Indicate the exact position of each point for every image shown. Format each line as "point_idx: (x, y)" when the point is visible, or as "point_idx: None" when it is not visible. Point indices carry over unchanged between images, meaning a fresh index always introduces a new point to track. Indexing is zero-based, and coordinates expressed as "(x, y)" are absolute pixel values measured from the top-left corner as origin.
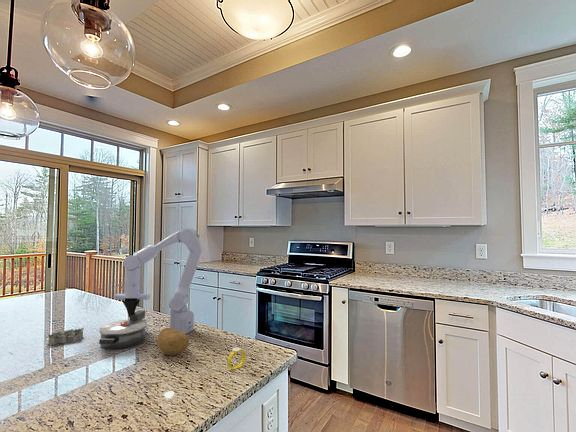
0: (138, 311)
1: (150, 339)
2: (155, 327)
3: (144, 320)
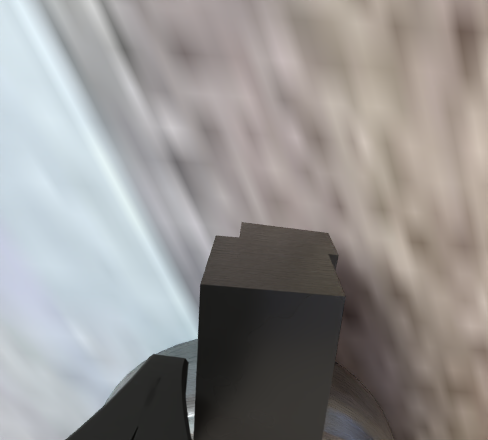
0: (239, 356)
1: (433, 433)
2: (401, 118)
3: None
